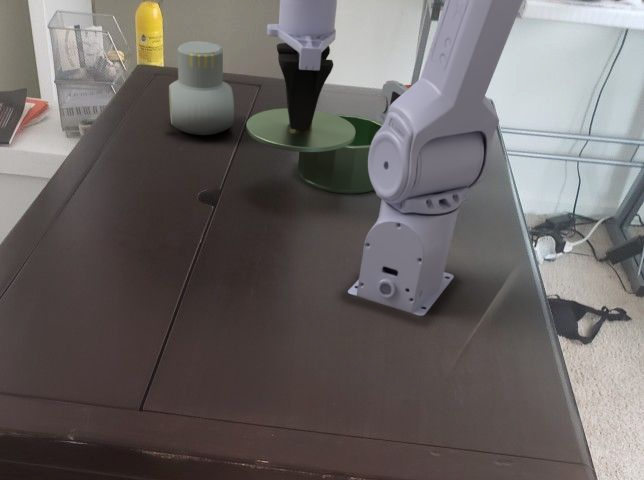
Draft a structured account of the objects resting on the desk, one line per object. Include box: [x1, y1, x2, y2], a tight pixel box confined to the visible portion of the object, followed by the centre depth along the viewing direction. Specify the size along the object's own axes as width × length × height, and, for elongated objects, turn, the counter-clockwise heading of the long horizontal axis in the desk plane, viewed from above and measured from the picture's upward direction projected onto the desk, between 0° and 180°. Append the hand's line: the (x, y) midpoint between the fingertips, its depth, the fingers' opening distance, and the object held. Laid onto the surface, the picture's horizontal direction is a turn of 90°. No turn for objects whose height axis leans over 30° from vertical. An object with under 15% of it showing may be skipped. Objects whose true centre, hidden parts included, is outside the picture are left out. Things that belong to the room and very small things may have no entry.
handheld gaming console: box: [375, 80, 413, 124], centre depth 97 cm, size 14×3×8 cm, turn 18°
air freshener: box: [168, 40, 235, 136], centre depth 100 cm, size 11×8×10 cm
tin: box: [297, 113, 383, 195], centre depth 92 cm, size 11×11×5 cm
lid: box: [245, 107, 356, 153], centre depth 82 cm, size 12×12×5 cm
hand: (299, 123), depth 83 cm, fingers closed on lid, 2 cm apart
